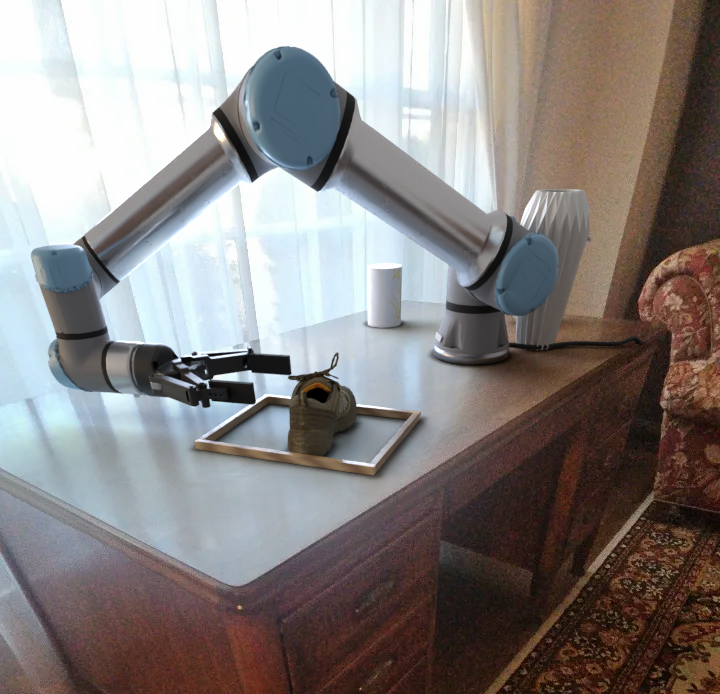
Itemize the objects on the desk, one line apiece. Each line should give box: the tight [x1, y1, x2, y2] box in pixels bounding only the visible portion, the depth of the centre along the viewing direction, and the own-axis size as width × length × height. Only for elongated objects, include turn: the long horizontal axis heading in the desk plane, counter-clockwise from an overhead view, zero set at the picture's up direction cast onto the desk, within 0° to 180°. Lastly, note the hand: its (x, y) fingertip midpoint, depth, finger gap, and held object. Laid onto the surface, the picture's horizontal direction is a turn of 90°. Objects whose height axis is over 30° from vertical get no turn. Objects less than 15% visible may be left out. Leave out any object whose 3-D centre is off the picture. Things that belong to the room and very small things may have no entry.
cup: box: [366, 262, 403, 329], centre depth 137 cm, size 8×8×12 cm
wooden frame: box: [193, 393, 422, 477], centre depth 88 cm, size 28×22×1 cm
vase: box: [514, 188, 591, 351], centre depth 114 cm, size 13×13×26 cm
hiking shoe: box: [287, 352, 357, 457], centre depth 84 cm, size 8×20×12 cm, turn 166°
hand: (273, 378), depth 84 cm, fingers open, 13 cm apart
